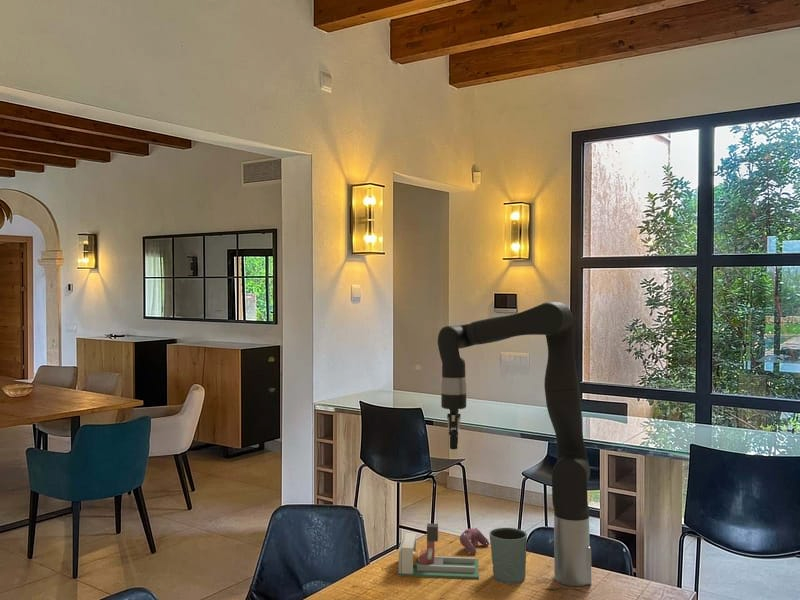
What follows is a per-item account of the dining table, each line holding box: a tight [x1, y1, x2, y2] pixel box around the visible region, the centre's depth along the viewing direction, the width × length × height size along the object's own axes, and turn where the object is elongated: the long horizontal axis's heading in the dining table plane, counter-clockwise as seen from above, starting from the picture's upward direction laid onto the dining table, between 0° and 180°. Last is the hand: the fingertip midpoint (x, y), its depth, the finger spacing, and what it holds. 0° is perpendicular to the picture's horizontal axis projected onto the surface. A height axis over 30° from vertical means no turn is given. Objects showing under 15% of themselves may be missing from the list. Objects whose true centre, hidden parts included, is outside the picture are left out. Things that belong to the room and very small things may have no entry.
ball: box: [413, 551, 419, 565], centre depth 186 cm, size 4×4×4 cm
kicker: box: [419, 523, 444, 565], centre depth 186 cm, size 6×14×11 cm, turn 174°
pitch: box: [397, 555, 480, 580], centre depth 185 cm, size 22×13×2 cm, turn 84°
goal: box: [398, 532, 417, 574], centre depth 186 cm, size 4×12×7 cm, turn 174°
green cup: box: [489, 527, 528, 585], centre depth 179 cm, size 10×10×12 cm
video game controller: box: [459, 527, 490, 555], centre depth 201 cm, size 10×5×7 cm, turn 145°
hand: (454, 446), depth 197 cm, fingers open, 8 cm apart
